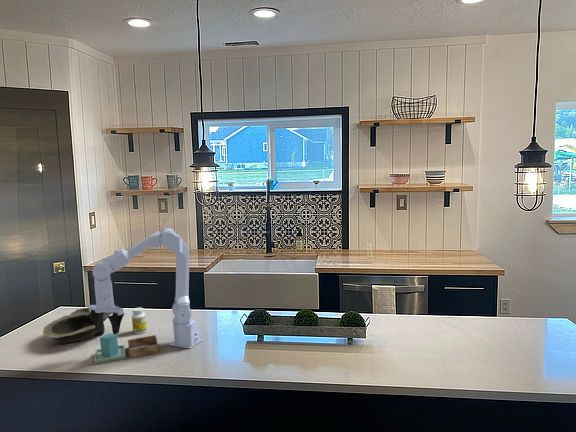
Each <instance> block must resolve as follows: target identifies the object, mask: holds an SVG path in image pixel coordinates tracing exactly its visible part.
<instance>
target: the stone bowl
mask: <svg viewBox="0 0 576 432" xmlns="http://www.w3.org/2000/svg"><path fill="white" fill-rule="evenodd" d="M90 313H91V312H89V308H88V307H83V308H80V309H79V308H78V309H76V310H75V311H73V312H71V313H70V314H68V315H64V316H62V317H60V318H57V319H54V320H53V321H51V322H50V323H49V324H47V325H45V326H44V327H43V329H42V334H43V336H44V337H47V338H51V339H52V338H53V339H55V340H56V341H57V343H59V344H61V345H65V344H69V343H70V344H71V343H74V342H77V341H79V340H81V341H82V340H84V339H87V338H88V337H91V336H93V335H95V336H97V337H101V336H104V334H105V330H106V329H105V324H104V322H105V321H106V320H107V319H109V318H108V317H109V316H111V315H112V314H111V313H104V315H103V330H102V331H100V332H97V330H96V327H95V325H94V323H93V321H92V320H91V318H90V317H89V314H90Z"/></svg>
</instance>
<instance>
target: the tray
mask: <svg viewBox="0 0 576 432" xmlns="http://www.w3.org/2000/svg"><path fill="white" fill-rule="evenodd" d="M125 347H126V346H125V344H120V345H119V344H118V351H119V353H118V354H116V355H114V356H113V357H103V356H102V353H101V348H97V349H95V353H94V366H96V365H97V366H98V365H101V364H107V363H111V362H117V361H118V362H119V361H121V360H122V361H123V360H126V359H127V358H126V348H125Z"/></svg>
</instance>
